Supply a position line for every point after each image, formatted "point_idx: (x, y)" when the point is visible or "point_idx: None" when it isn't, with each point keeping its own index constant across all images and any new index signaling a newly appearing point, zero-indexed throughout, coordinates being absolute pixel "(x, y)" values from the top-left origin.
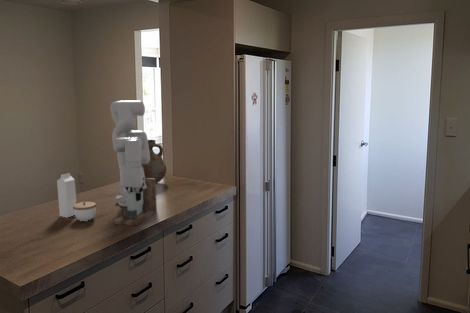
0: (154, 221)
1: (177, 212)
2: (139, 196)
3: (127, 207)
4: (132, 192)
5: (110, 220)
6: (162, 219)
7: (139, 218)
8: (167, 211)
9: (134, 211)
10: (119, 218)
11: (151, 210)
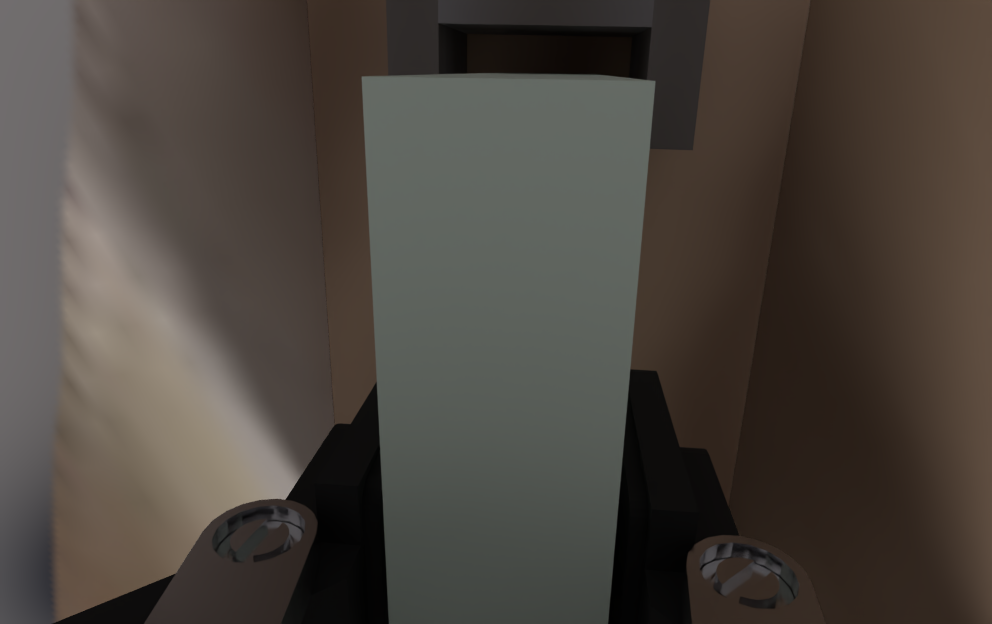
0: (150, 158)
1: (81, 581)
2: (312, 461)
3: (604, 75)
4: (520, 491)
5: (960, 31)
6: (92, 275)
7: None
8: None
9: (388, 29)
10: (762, 10)
11: None
